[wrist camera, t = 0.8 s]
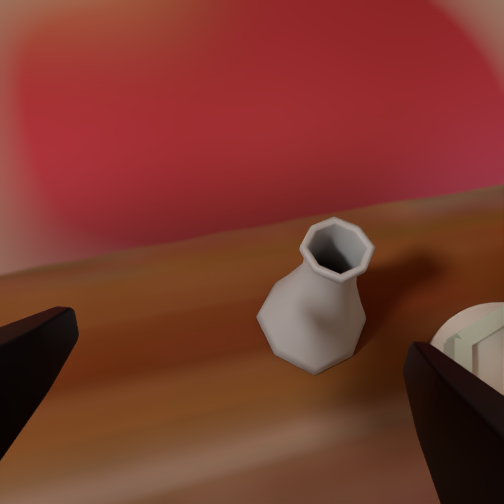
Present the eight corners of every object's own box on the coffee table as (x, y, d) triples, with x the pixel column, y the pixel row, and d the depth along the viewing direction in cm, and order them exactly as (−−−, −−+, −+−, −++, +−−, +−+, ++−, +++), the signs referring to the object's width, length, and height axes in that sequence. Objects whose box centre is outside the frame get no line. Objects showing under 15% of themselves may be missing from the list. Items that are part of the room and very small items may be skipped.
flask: (238, 318, 24) (225, 245, 15) (306, 256, 26) (328, 163, 18) (315, 397, 21) (351, 363, 13) (383, 320, 24) (453, 247, 15)
